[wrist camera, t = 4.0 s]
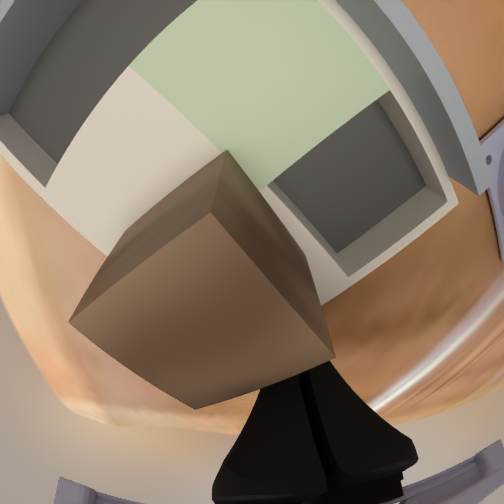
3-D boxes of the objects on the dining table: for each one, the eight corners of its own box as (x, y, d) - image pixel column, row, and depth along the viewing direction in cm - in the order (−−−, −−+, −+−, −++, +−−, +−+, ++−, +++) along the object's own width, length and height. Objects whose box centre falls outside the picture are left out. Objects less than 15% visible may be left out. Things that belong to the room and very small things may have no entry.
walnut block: (305, 254, 11) (335, 357, 7) (206, 309, 12) (195, 409, 8) (227, 149, 9) (210, 212, 5) (125, 230, 10) (68, 322, 6)
